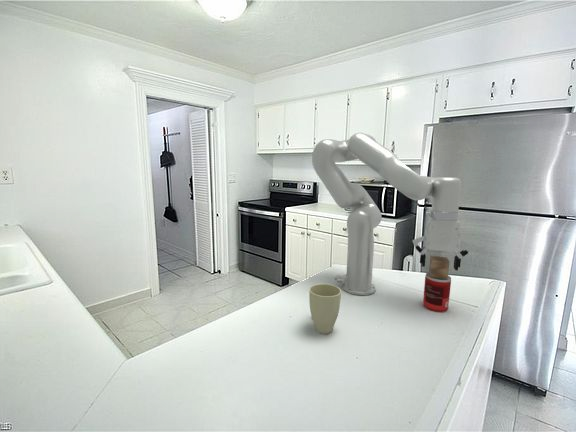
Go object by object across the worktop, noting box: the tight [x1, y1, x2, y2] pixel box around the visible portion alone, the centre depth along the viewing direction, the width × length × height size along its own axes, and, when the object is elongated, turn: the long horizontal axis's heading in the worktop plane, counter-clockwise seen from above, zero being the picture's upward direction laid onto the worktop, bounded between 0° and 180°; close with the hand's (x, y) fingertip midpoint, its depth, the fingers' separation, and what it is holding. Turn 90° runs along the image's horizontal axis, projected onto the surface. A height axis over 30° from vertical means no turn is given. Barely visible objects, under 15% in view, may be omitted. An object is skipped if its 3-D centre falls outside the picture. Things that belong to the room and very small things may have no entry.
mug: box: [308, 283, 342, 335], centre depth 84 cm, size 11×10×12 cm
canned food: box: [422, 271, 452, 313], centre depth 97 cm, size 8×8×11 cm
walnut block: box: [428, 255, 451, 280], centre depth 96 cm, size 5×5×6 cm
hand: (439, 267), depth 96 cm, fingers open, 9 cm apart
